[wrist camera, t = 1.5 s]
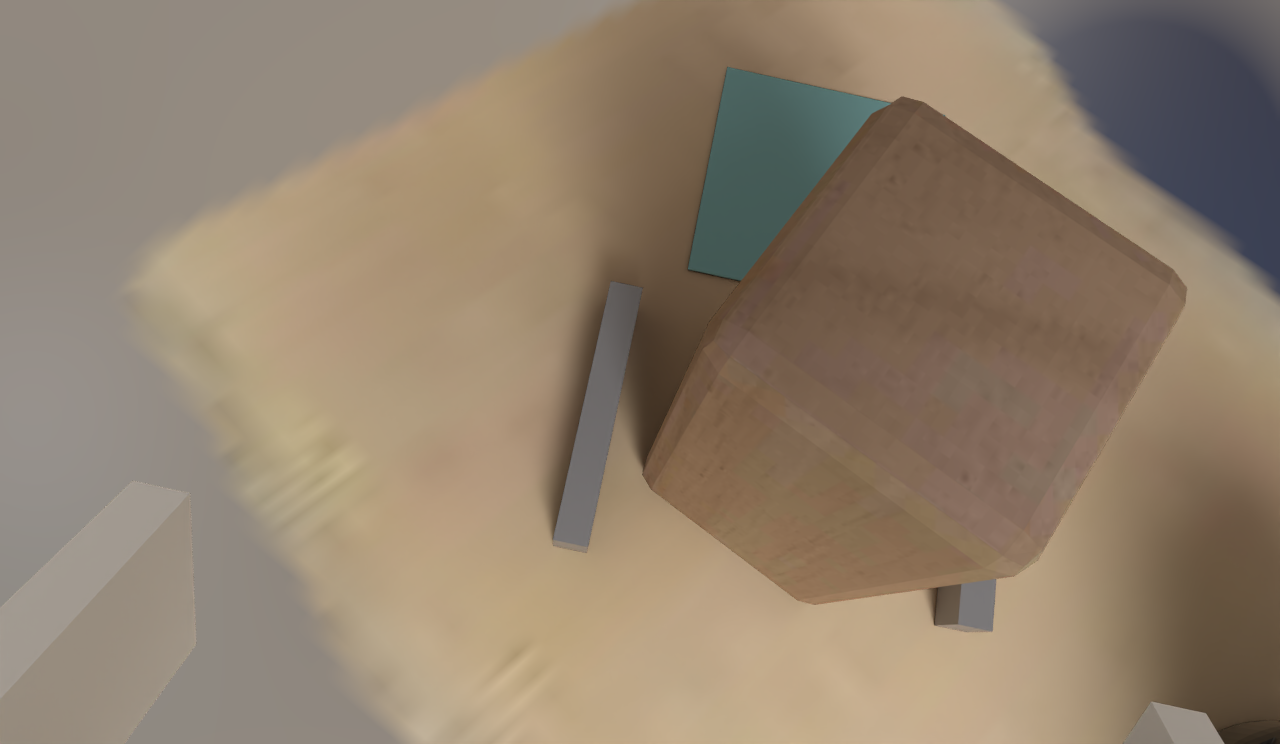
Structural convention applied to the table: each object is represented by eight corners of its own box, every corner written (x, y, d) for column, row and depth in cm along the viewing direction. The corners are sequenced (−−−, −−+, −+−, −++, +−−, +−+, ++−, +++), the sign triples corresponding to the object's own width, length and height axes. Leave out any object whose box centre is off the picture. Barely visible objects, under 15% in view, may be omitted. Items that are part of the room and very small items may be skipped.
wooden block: (753, 319, 44) (902, 68, 24) (923, 441, 42) (1218, 279, 23) (631, 479, 41) (692, 337, 22) (809, 615, 40) (1039, 591, 21)
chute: (966, 631, 40) (992, 631, 38) (553, 545, 40) (552, 539, 37) (986, 382, 44) (1011, 367, 41) (608, 300, 43) (610, 280, 41)
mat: (922, 320, 44) (923, 319, 44) (687, 269, 44) (687, 268, 44) (944, 116, 48) (945, 115, 48) (727, 68, 48) (727, 66, 47)
